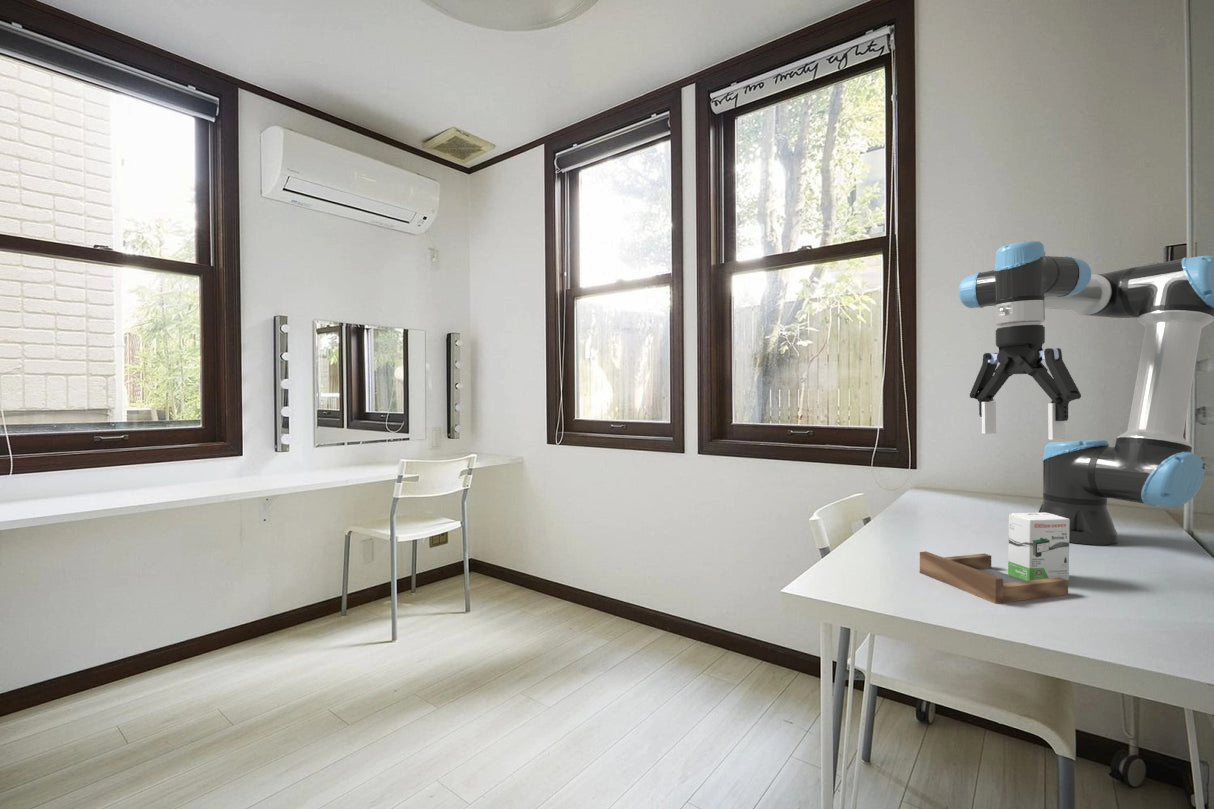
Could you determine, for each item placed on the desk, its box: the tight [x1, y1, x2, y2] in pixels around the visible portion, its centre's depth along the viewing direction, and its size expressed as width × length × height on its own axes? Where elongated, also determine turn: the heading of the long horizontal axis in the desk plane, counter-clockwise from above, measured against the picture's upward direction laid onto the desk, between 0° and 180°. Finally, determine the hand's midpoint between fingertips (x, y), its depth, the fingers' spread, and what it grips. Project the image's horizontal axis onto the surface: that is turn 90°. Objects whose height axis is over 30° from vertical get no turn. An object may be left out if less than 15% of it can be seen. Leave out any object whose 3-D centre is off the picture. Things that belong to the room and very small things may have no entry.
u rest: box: [919, 551, 1069, 604], centre depth 100 cm, size 16×16×4 cm
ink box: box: [1007, 512, 1070, 582], centre depth 103 cm, size 9×5×12 cm, turn 98°
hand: (1020, 436), depth 105 cm, fingers open, 13 cm apart
